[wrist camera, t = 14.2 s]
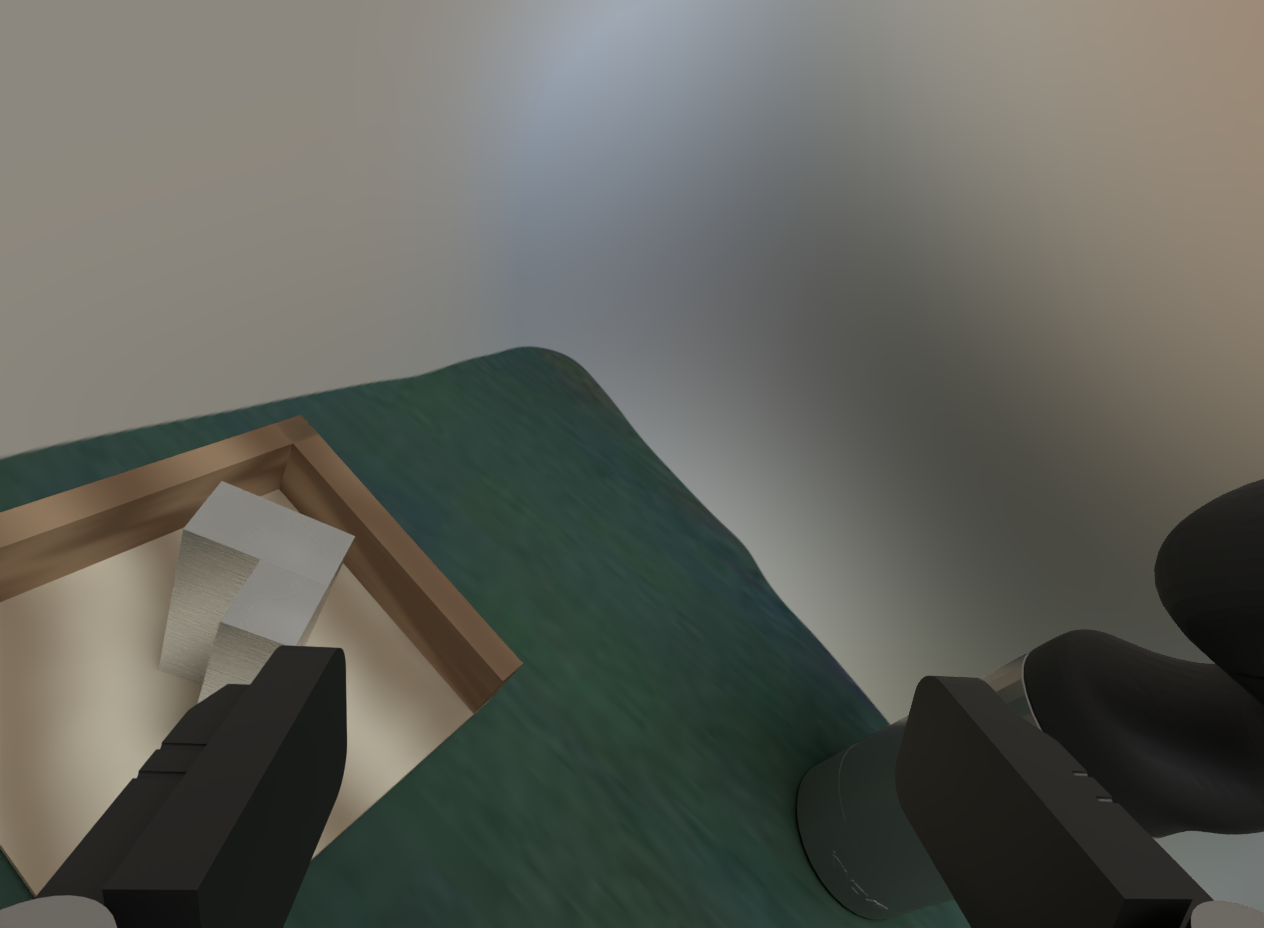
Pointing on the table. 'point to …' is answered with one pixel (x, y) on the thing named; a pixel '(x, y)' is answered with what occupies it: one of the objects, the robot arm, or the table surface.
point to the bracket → (246, 587)
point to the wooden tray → (136, 622)
